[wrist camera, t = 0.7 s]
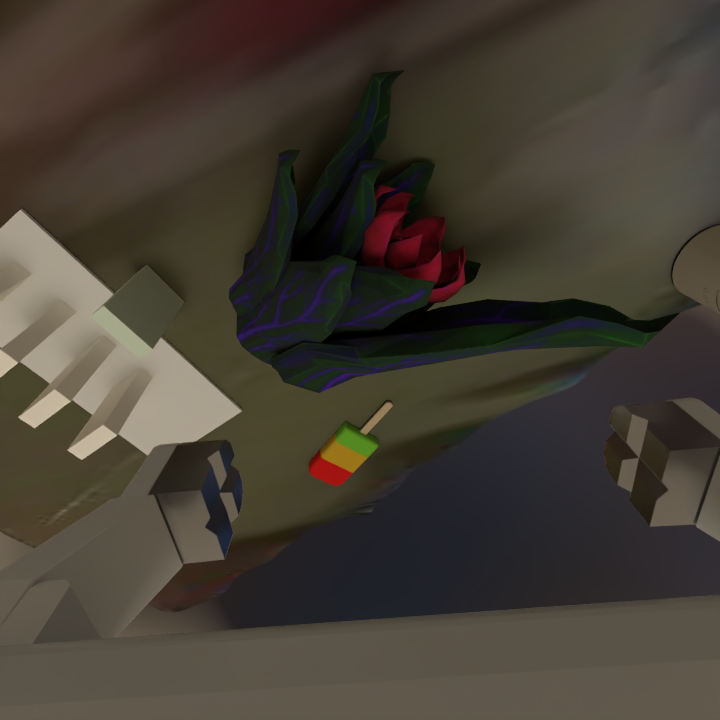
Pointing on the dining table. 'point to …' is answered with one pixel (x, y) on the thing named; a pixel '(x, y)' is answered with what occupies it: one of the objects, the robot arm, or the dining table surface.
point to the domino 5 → (110, 414)
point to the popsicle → (346, 450)
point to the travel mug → (700, 269)
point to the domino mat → (85, 295)
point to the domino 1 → (12, 279)
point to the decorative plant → (384, 277)
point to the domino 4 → (139, 311)
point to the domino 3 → (67, 383)
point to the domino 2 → (33, 336)
